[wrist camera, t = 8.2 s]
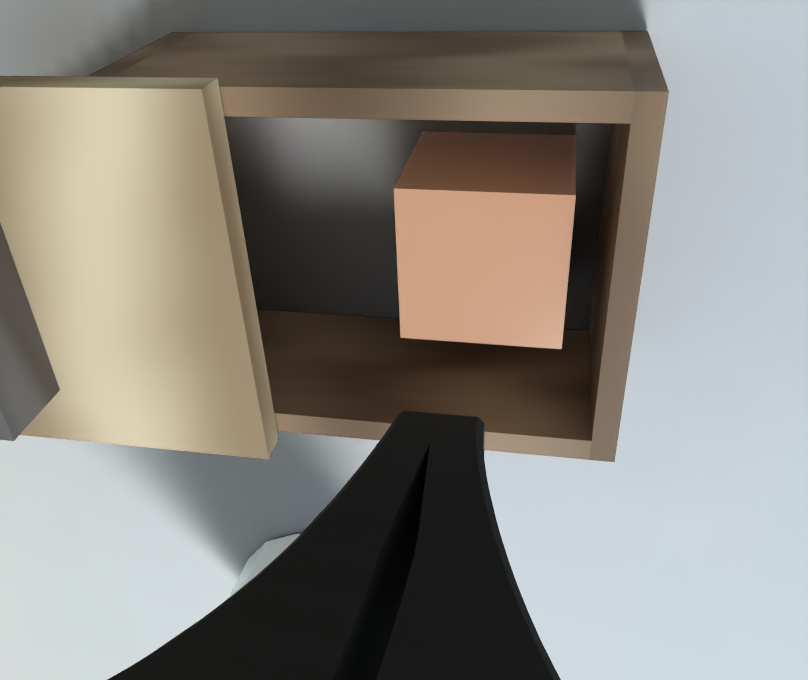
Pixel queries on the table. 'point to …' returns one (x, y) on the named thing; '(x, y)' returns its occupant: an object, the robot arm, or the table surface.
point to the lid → (126, 269)
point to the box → (460, 101)
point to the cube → (485, 237)
